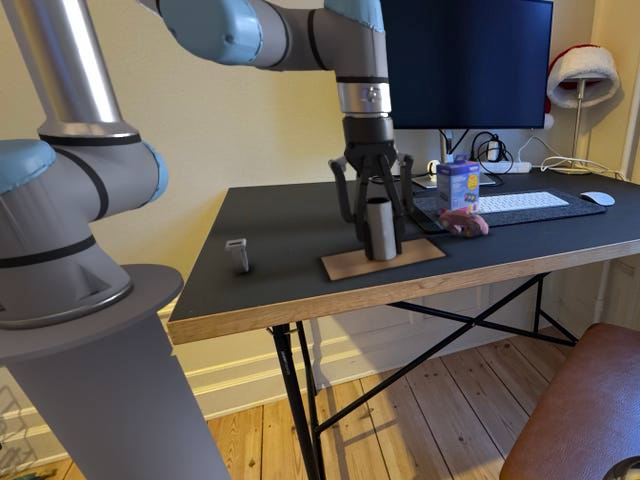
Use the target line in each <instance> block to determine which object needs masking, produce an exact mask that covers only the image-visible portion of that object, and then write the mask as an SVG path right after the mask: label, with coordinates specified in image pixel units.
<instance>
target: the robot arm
mask: <svg viewBox="0 0 640 480" xmlns="http://www.w3.org/2000/svg"><path fill="white" fill-rule="evenodd" d="M133 1H134V2H135V3H136V4H138V5H139V6H140V7H142V8H144V9H145V10H147V11H148V12H150V13H151V14H152V15H155V17H157V18H159V19H160V20H161V21H163V23H164V25H165V27H166V29H167V30H168V31H169V32H170V35H172V37H173V39H175V41H176V43H177V44H178V45H179V46H180V47H181V48H183V49H184V50H185V51H187V52H188V53H190V54H191V55H192V56H194V57H197V58H198V59H202V60H204V61H210V62H213V63H215V64H218V65H222V66H227V67H236V66H237V67H238V66H241V67H242V66H243V67H253V68H255V69H257V70H260V71H268V72H277V73H285V72H314V71H315V72H316V71H324V72H333V71H334V75H335V83H336V88H337V89H336V90H337V96H338V103H339V111H340V112H341V113H342V114H344V117H342V119H341V123H342V129H343V130H342V131H343V136H344V143H345V144H344V145H345V148H344V151H343V155H341V156H339V157H337V158H336V159H329V160H328V161H327V164H328V167H329V168H330V171H331V172H332V174H333V175H334V183H335V187H336V193H337V198H338V204H339V210H340V216H341V218H342V220H343V221H344V222H345V223H346V224H353V225H354V230H355V236H356V239H357V241H358V242H359V243H363V250H365V256H366V257H367V258H368V260H369V261H370V260H373V252H372V245H371V237H370V230H369V224H368V223H367V222H366V219H365V205H366V199H367V195H368V187H369V184H370V183H369V182H370V179H372V178H375V177H378V178H380V179H381V181H382V183H383V186H384V190H385V192H386V195H387V198H390V199H391V205H392V213H393V214H394V215H393V224H394V233H395V242H396V252H397V254H398V255H400V254H402V246H401V242H402V237H401V236H404V235H405V234H406V225H405V220H406V218H407V215H409V214H413V213H414V212H415V205H414V190H413V188H414V187H413V175H412V169H413V166H414V162H415V158H414V156H413V155H411V154H409V153H402V152H399V150H398V148H397V146H396V144H395V132H394V131H395V130H394V122H393V121H394V120H393V118H392V117H391V116H389V114H390V113H391V112H392V102H391V91H390V84H389V72H388V71H389V70H388V59H387V47H386V45H387V44H386V30H385V28H384V27H385V26H384V20H383V13H382V5H381V0H323V3H322V4H323V7H318V8H289V7H283V6H281V5H278V4H275V3H273V2H271V1H268V0H133ZM0 3H1V6H2V8H3V11H4V14H5V15H6V18H7V21H8V24H9V26H10V28H11V31H12V33H13V36H14V39H15V41H16V44H17V46H18V49H19V51H20V54H21V56H22V59H23V61H24V64H25V66H26V70H27V71H28V75H29V76H30V77H29V78H30V80H31V81H32V85H33V87H34V89H35V92H36V94H37V97H38V99H39V102H40V105H41V107H42V110H43V112H44V115H45V121H44V122H42V124H41V125H39V126H38V127H37V128H36V133H37V135H38V138H39V139H37V138H14V139H13V138H12V139H11V138H10V139H1V140H0V329H3V330H28V329H36V328H42V327H48V326H52V325H57V324H61V323H65V322H69V321H72V320H76V319H79V318H82V317H85V316H88V315H91V314H93V313H96V312H99V311H101V310H103V309H106V308H108V307H110V306H112V305H114V304H116V303H117V302H119V301H121V300H122V299H124V298H125V297H127V296H128V295H129V294H130V293H131V292H132V290H133V289H134V285H133V282H132V280H131V278H130V276H129V275H128V274H127V273H126V272H125V271H124V270H123V269H122V268H121V267H120V266H119V265H120V264H118V263H117V261H115V260H114V259H113V258H112V257H111V256H110V255H109V254H108V253H107V252H106V251H104V249H102V247H100V245H99V244H98V241H97V240H96V238H95V236H94V233H93V232H92V230H91V227H90V225H89V224H91V223H94V222H97V221H101V220H103V219H107V218H109V217H112V216H115V215H119V214H122V213H125V212H128V211H135V210H138V209H141V208H143V207H145V206H146V205H148V204H150V203H154V202H156V201H157V200H158V199H159V198H161V197H162V195H163V194H164V193H165V192H166V190H167V188H168V184H169V171H168V170H169V169H168V167H167V164H166V161H165V160H164V158H163V156H162V155H161V153H159V152H156V151H155V147H154V146H152V145H151V144H150V143H148V142H147V141H145V140H142V137H141V133H140V131H139V129H138V128H136V127H135V126H133V125H132V124H130V123H128V122H127V121H126V120H125V119H124V117H123V114H122V111H121V108H120V103H119V101H118V97H117V95H116V91H115V87H114V85H113V82H112V79H111V74H110V72H109V71H110V70H109V68H108V65H107V61H106V59H105V55H104V52H103V48H102V45H101V42H100V39H99V36H98V33H97V29H96V27H95V22H94V20H93V16H92V13H91V10H90V6H89V3H88V0H0ZM396 161H397V164H398V166H399V176H400V177H399V178H400V189H401V199H400V197H399V194H398V191H397V186H396V185H395V181H394V176H393V172H392V169H393V167H394V164H395V163H396ZM347 164H349V166H351V168H352V169H353V170H354V171H355V172H356V173H355V191H354V201H353V213H352V210H351V203H350V198H349V197H350V196H349V191H348V184H347V179H346V175H345V173H346V171H347ZM401 201H402V202H401Z"/></svg>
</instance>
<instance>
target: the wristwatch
mask: <svg viewBox="0 0 640 480" xmlns="http://www.w3.org/2000/svg"><path fill="white" fill-rule="evenodd" d="M246 244H247V239H246V238H238V239H231V240H227V241H226V243H225V246H224V251H225V252H230V255H231V259H232V262H233V266H234V269H235V271H236V272H237V273H238V274H241V273H242V274H243V273H248V271H249V261H248V255H247V252H246V246H247V245H246Z"/></svg>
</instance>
